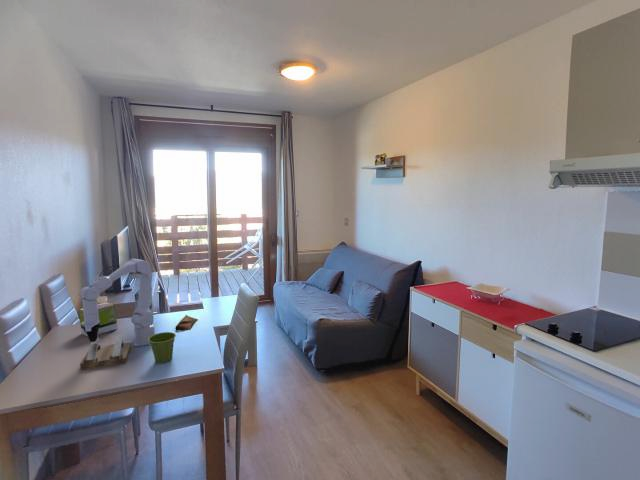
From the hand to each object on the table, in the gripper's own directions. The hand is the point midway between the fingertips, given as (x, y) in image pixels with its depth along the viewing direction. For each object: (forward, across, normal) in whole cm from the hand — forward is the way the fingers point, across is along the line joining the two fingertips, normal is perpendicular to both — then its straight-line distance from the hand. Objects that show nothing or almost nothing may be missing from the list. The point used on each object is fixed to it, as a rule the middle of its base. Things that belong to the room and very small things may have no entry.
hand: (93, 340), depth 167 cm
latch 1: (+4, +2, 0) cm, 4 cm away
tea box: (+10, -40, -6) cm, 41 cm away
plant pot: (+10, +12, +30) cm, 34 cm away
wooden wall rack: (+9, 0, +5) cm, 11 cm away
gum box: (+10, -36, +18) cm, 42 cm away
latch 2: (+4, +2, +10) cm, 11 cm away
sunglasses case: (+10, -33, +40) cm, 53 cm away
